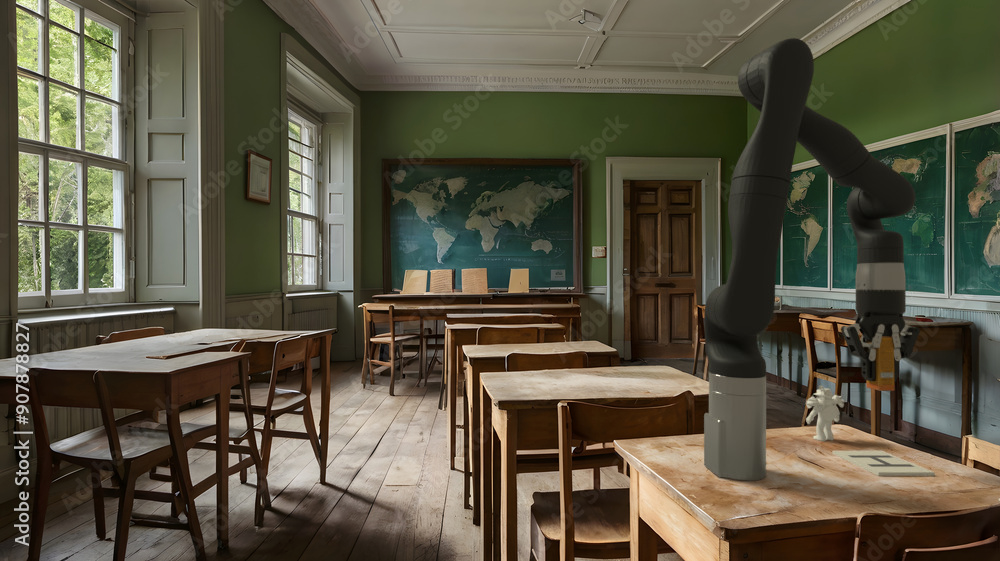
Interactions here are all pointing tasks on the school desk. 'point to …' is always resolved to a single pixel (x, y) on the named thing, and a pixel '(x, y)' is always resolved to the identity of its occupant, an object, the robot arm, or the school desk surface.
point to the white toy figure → (824, 412)
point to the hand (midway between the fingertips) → (880, 380)
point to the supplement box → (884, 366)
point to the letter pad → (883, 463)
